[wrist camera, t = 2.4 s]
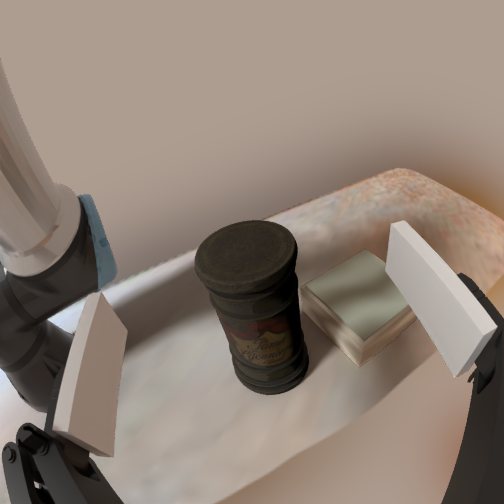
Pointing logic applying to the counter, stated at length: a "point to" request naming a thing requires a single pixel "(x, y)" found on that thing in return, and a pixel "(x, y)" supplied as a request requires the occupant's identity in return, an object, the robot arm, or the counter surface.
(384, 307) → the stand
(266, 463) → the counter surface
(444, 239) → the counter surface
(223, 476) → the counter surface
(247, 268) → the container
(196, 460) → the counter surface
